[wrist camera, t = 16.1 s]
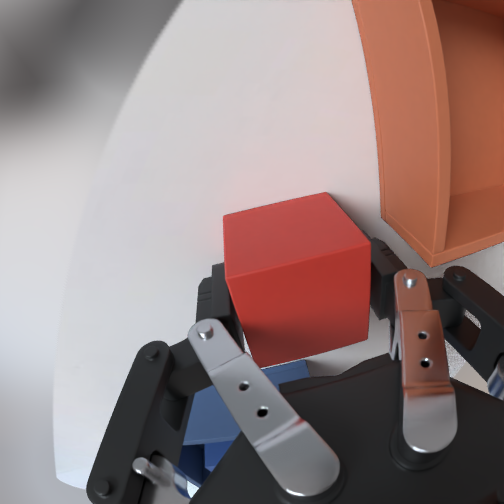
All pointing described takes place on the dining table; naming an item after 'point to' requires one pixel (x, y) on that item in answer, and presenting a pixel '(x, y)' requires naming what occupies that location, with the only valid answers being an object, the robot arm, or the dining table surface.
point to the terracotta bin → (438, 120)
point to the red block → (297, 278)
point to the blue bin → (220, 421)
